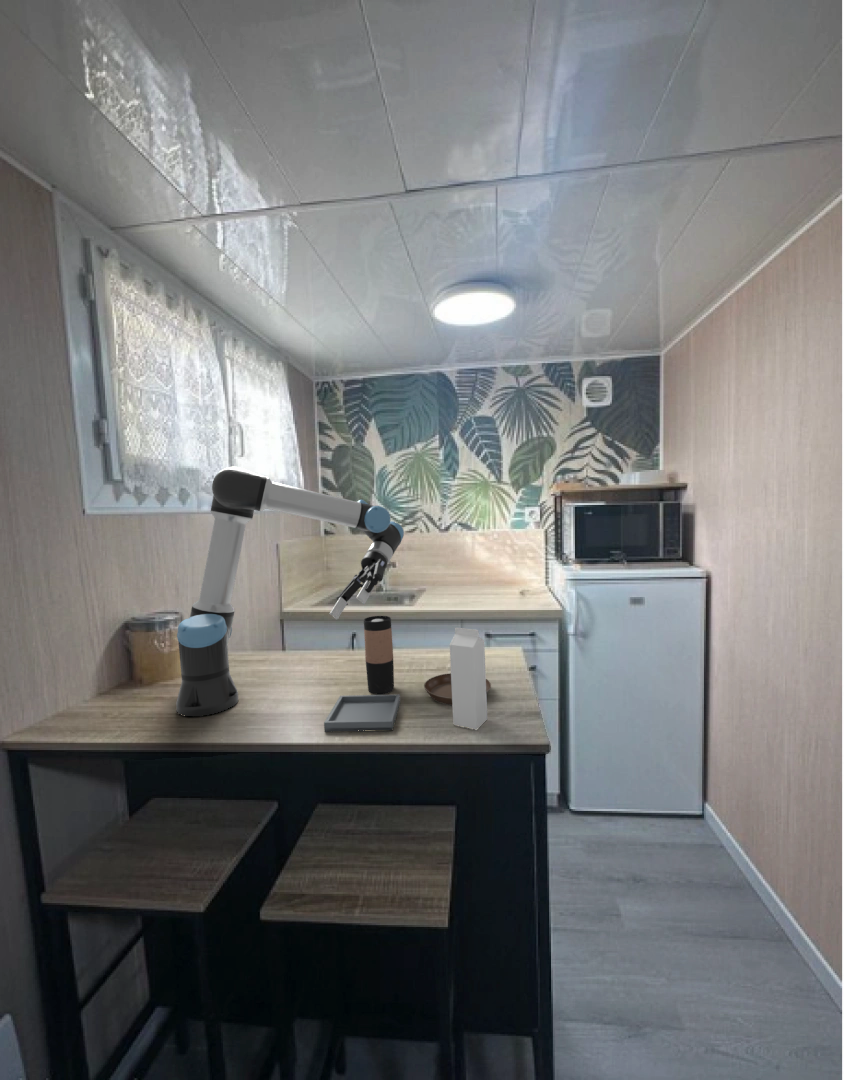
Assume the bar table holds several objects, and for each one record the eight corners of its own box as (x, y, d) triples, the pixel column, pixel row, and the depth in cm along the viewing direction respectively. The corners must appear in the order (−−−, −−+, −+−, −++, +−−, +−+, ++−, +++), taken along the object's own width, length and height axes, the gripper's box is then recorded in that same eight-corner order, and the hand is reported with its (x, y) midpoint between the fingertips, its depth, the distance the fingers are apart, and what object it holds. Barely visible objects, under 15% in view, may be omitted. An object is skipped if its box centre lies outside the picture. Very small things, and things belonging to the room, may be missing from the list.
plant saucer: (502, 689, 131) (501, 678, 131) (472, 714, 116) (471, 702, 116) (446, 679, 141) (445, 669, 140) (411, 701, 126) (411, 689, 126)
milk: (464, 715, 115) (460, 624, 114) (488, 720, 112) (484, 626, 111) (452, 725, 110) (448, 630, 109) (477, 731, 107) (472, 632, 106)
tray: (324, 731, 110) (324, 722, 110) (340, 703, 126) (340, 695, 125) (392, 730, 109) (391, 721, 109) (400, 702, 125) (399, 694, 124)
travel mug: (361, 690, 134) (357, 619, 133) (383, 682, 140) (380, 614, 138) (378, 697, 129) (374, 623, 127) (400, 689, 134) (396, 618, 132)
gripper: (410, 551, 142) (383, 602, 127) (362, 581, 158) (332, 630, 143) (392, 534, 140) (362, 583, 125) (345, 566, 156) (313, 614, 141)
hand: (346, 608), depth 134 cm, fingers open, 13 cm apart
